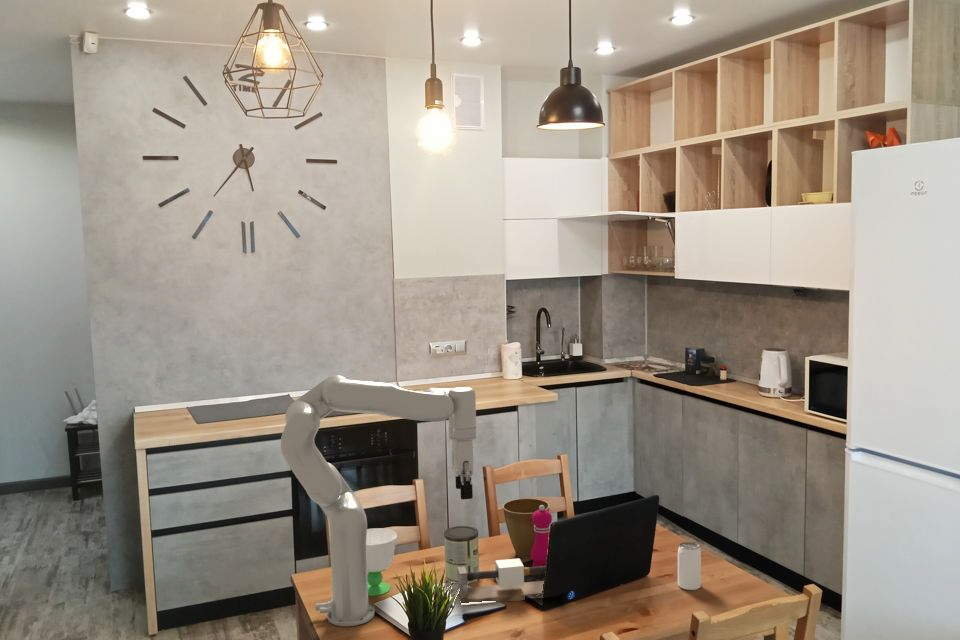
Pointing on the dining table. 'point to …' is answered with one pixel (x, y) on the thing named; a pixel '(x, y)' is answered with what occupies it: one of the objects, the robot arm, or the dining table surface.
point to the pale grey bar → (497, 586)
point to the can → (689, 566)
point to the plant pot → (522, 523)
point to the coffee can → (461, 551)
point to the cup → (379, 558)
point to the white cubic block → (510, 572)
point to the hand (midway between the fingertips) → (464, 493)
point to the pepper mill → (540, 536)
